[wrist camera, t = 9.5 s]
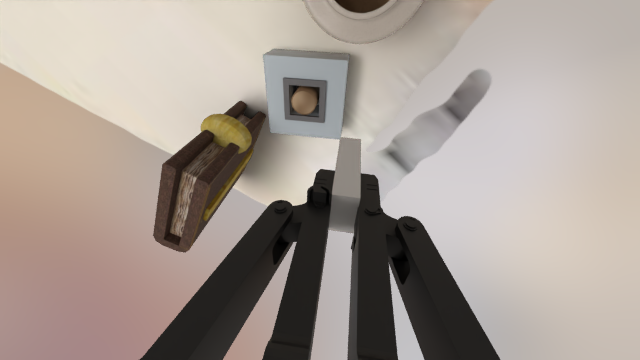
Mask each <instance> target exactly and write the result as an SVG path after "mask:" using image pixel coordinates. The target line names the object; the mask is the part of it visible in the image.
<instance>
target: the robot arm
mask: <svg viewBox="0 0 640 360" xmlns="http://www.w3.org/2000/svg"><path fill="white" fill-rule="evenodd" d="M328 230H333V231H340V232H348V233H353V232H354V237H353V242H352V246H351V249H352V266H351V268H352V269H351V290H350V313H349V337H348V360H398V356H397V346H396V336H395V325H394V315H393V305H392V294H391V284H390V273H389V264H390V267H391V270H392V273H393V275H394V278H395V281H396V284H397V286H398V289H399V292H400V294H401V297H402V300H403V302H404V305H405V308H406V311H407V313H408V316H409V319H410V321H411V324H412V327H413V329H414V332H415V335H416V338H417V340H418V343H419V346H420V348H421V351H422V354H423V357H424V359H425V360H500V358H499V356H498V355H497V353H496V351H495V349H494V348H493V346H492V344H491V343H490V341H489V339H488V337H487V336H486V334H485V332H484V330H483V329H482V327H481V325H480V323H479V322H478V320H477V318H476V316H475V315H474V313H473V311H472V309H471V308H470V306H469V304H468V303H467V301H466V299H465V297H464V296H463V294H462V292H461V291H460V289H459V287H458V285H457V284H456V282H455V280H454V278H453V276H452V275H451V273H450V271H449V270H448V268H447V266H446V265H445V263H444V261H443V259H442V257H441V256H440V254H439V252H438V250H437V249H436V247H435V245H434V244H433V242H432V240H431V238H430V236H429V235H428V233H427V231H426V230H425V228H424V226H423V225H422V223H421V222H420V221H419V220H417V219H416V218H413V217H409V216H404V217H401V218H399V219H398V220H397V219H394V218H392V217H390V216H388V215H386V214H385V213H384V212H383V209H382V208H381V206H380V195H379V184H378V179H377V178H376V176H375V175H369V174H361V139H352V138H343V137H340V143H339V150H338V156H337V163H336V169H335V171H332V170H324V169H320V170H319V171H318V172H317V173H316V177H315V180H314V184H313V186H312V187H310V188H309V189H308V191H307V202H306V203H305V204H302V205H298V206H292V204H291V203H290V202H288V201H284V200H278V201H275V202H272V203H271V204H270V205H269V206H268V207H267V209H266V210H265V211H264V212H263V213H262V215H261V216H260V217H259V218H258V220H257V221H256V222H255V223H254V224H253V225H252V227H251V228H250V229H249V230H248V231H247V233H246V234H245V235H244V236H243V237H242V239H241V240H240V241H239V242H238V243H237V245H236V246H235V247H234V248H233V249H232V251H231V252H230V253H229V254H228V255H227V257H226V258H225V259H224V260H223V261H222V263H221V264H220V265H219V266H218V267H217V269H216V270H215V271H214V272H213V273H212V275H211V276H210V277H209V278H208V279H207V281H206V282H205V283H204V284H203V285H202V286H201V288H200V289H199V290H198V292H196V294H195V295H194V296H193V297H192V299H191V300H190V301H189V302H188V303H187V304H186V306H185V307H184V308H183V310H181V312H180V313H179V314H178V315H177V316H176V318H175V319H174V320H173V321H172V322H171V324H170V325H169V326H168V327H167V329H166V330H165V331H164V332H163V334H161V336H160V337H159V338H158V339H157V341H156V342H155V343H154V344H153V345H152V347H151V348H150V349H149V350H148V351H147V353H146V354H145V355H144V356H143V357H142V358H141V359H140V360H223V358H224V356H225V355H226V353H227V351H228V350H229V348H230V346H231V345H232V343H233V341H234V340H235V338H236V337H237V335H238V333H239V332H240V330H241V328H242V327H243V325H244V323H245V321H246V320H247V318H248V317H249V315H250V313H251V311H252V310H253V308H254V307H255V305H256V303H257V302H258V300H259V298H260V297H261V295H262V294H263V292H264V290H265V288H266V287H267V285H268V284H269V282H270V280H271V279H272V277H273V275H274V273H275V272H276V270H277V269H278V267H279V265H280V264H281V262H282V260H283V259H284V257H285V255H286V254H287V252H288V251H289V249H290V247H291V246H292V244H293V242H297V243H296V246H295V250H294V254H293V258H292V262H291V265H290V269H289V273H288V277H287V281H286V285H285V288H284V292H283V296H282V300H281V303H280V307H279V311H278V315H277V319H276V323H275V326H274V330H273V334H272V337H271V339H270V341H269V342H268V344H267V346H266V349H265V352H264V356H263V359H262V360H310V358H311V350H312V344H313V336H314V329H315V322H316V315H317V308H318V301H319V294H320V287H321V280H322V272H323V265H324V258H325V251H326V244H327V237H328ZM388 262H389V263H388Z"/></svg>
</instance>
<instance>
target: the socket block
mask: <svg viewBox="0 0 640 360" xmlns="http://www.w3.org/2000/svg"><path fill="white" fill-rule="evenodd" d="M349 55H350V54H342V53H327V52H312V51H297V50H282V49H273V50H271V51H269V52H267V53H265V54H264V55H263V60H264V71H265V82H266V92H267V103H268V114H269V125H270V133H278V134H289V135H299V136H309V137H319V138H330V139H340V137H341V133H342V126H343V116H344V106H345V95H346V85H347V75H348V65H349ZM297 85H298V86H311V87H320V97H319V105H316V107H315V109H314V111H313V112H312V113H310V114H308V115H302V114H299V113H297V112H296V111H295V110H294V109H293V107H292V103H291V99H292V96H293V94H294V93H295V92H296V90H297Z"/></svg>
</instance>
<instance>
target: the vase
mask: <svg viewBox="0 0 640 360" xmlns="http://www.w3.org/2000/svg"><path fill="white" fill-rule="evenodd" d="M423 1H424V0H303V2H304V4H305V7H306V8H307V10H308V12H309V14H310V15H311V17H312V18H313V20H314V21H315V22H316V23H317V24H318V26H319V27H320V28H321V29H323V30H324V31H325V32H326V33H328V34H329V35H331V36H332V37H334V38H336V39H338V40H341V41H344V42H347V43H353V44H366V43H372V42H376V41H378V40H381V39H384V38H386V37H388V36H390V35H391V34H393V33H394V32H396V31H397V30H399V29H400V28H401V27H402V26H404V25H405V24H406V23H407V22H408V21H409V20H410V19H411V18H412V16H413V15H414V14H415V13H416V11H417V10H418V9H419V7H420V6H421V4H422V3H423Z"/></svg>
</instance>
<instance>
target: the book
mask: <svg viewBox="0 0 640 360" xmlns="http://www.w3.org/2000/svg"><path fill="white" fill-rule="evenodd" d="M246 106H247V105H246V103H244V102H242V101H239V102H238V103H236V104H235V105H234V106H233V107H232V108H230V109H229V110H228V111H227V112H226V113H224V114H213V115H210V116H209V117H207V118H206V119H204V121H203V122H202V124H201V131H202V132H201V133H200V134H199V135H198V136H196V137H195V138H194V139H193V140H192V141H190V142H189V143H188V144H187V145H185V146H184V147H183V148H182V149H181V150H179V151H178V152H177V153H176V154H175V155H173V156H172V157H171V158H170V159H169V160H167V161H166V162H165V163H164V164H163V165H162V173H161V180H160V188H159V195H158V203H157V212H156V219H155V226H154V234H153V236H154V238H155V240H156V241H157V242H159V243H160V244H162V245H164V246H166V247H169V248H171V249H173V250H176V251H179V252H186V251H188V250H189V249H190V248H191V246H192V245H193V243H194V242H195V241H196V239H197V238H198V236H199V235H200V233H201V232H202V230H203V229H204V227H205V226H206V225H207V223H208V222H209V220H210V219H211V217H212V216H213V215H214V213H215V212H216V210H217V209H218V207H219V206H220V205H221V203H222V201H223V200H224V199H225V197H226V196H227V194H228V193H229V191H230V190H231V189H232V187H233V186H234V184H235V183H236V181H237V180H238V179H239V177H240V176H241V174H242V173H243V171H244V169H245V167H246V164H247V163H248V161H249V160H250V158H251V155H252V153H253V147H254V145H255V142H256V140H257V137H258V135H259V132H260V130H261V127H262V125H263V122H264V120H265V118H266V115H265V114H264V113H262V112H258V113H257V114H256V115H255V116H254V117H253V118H252V119H249V118H247V117H246V116H244V112H245V109H246Z"/></svg>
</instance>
